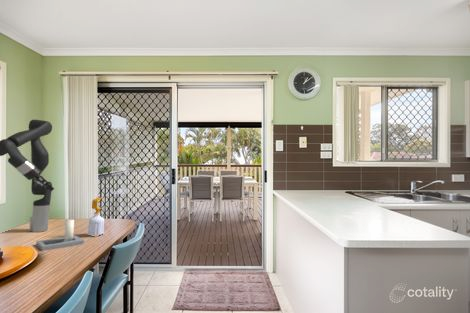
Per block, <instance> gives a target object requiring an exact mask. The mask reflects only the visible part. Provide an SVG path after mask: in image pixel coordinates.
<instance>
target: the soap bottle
mask: <svg viewBox="0 0 470 313" xmlns="http://www.w3.org/2000/svg"><path fill="white" fill-rule="evenodd" d="M102 199H103V197H96V198H94V199H92V201H91V209H92V210H95V212H93V214H94V216H91V217H90V218H89V220H88V226H87V227H88V228H87V236H88V235H99V234H102V233H103V234H104V229H105V228H104V227H105V219H104V217H102V216H101V212H100V210H101V209H103V207H98V205H99V204H98V203H99V201H101V200H102Z"/></svg>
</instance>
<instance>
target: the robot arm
mask: <svg viewBox="0 0 470 313" xmlns="http://www.w3.org/2000/svg"><path fill="white" fill-rule="evenodd" d="M52 130H53V125H52V123H51V122H50V121H48V120H40V119H32V120H30V121H29V123H28V129H27V130H22V131H19V132H16V133H14V134H11V135H10V136H8V137H7V138H4V139H1V140H0V157H3V156H4V155H7V154H8V156H9V157H8V159H7V162H8V164H10V165H11V166H12V167H13V168H14V169H15V170H16V171H17V172H18V173H20V174H21V175H22V176H23V177H25V178H26V179H27V180H28V181H31V185H30V186H31V194H32V195H34V196H43V197H42V198H39V199H36V200H34V201H33V203H32V213H31V214H32V215H31V216H30V218H29V219H30V220H29V230H28V232H31V233H38V232H46V231H48V230H49V222H50V221H49V219H50V209H51V208H50V207H51V198H52V191H54V190H55V188H54V186H53V183H52V181H47V179H45V177H43V175H42V174H43V172H44V171H45V169H46V168H47V167H48V165H49V162H50V158H49V157H50V155H49V151H48V150H47V148H46V146H44V145H43V143H42V140H41V137H44V136H47V135H50V133H51V132H52ZM28 142H30V150H31V151H30V153H31V155H30V156H31V159H30V160H31V161H30V160H28V159H27V158H26V157H25V156H24V155H23V154H22V153H21V151H20V150H19V148H20V147H22V146H23V145H25V144H27V143H28Z"/></svg>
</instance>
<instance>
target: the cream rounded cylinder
mask: <svg viewBox="0 0 470 313" xmlns="http://www.w3.org/2000/svg"><path fill="white" fill-rule="evenodd" d="M74 229H75V219H65V223H64V236H63V237H64V242H65V241H72V240H73V236H74Z"/></svg>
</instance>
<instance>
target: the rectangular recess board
mask: <svg viewBox="0 0 470 313" xmlns="http://www.w3.org/2000/svg"><path fill="white" fill-rule="evenodd" d="M82 243H84V244H85V240H84V239H82V238H81V237H79V236H78V235H73V240H72V241H65V242H64V236H63V237H62V236H61V237H57V238H56V237H55V238H49V239H40V240H37V241H36V242H35V245H36V246H37V247H38V248H39V249H40V250H41V251H42V252H43V251H50V250H55V249H56V250H57V249H60V248H67V247H73V245H74V246H79V245H78V244H80V245H83V244H82Z"/></svg>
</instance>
